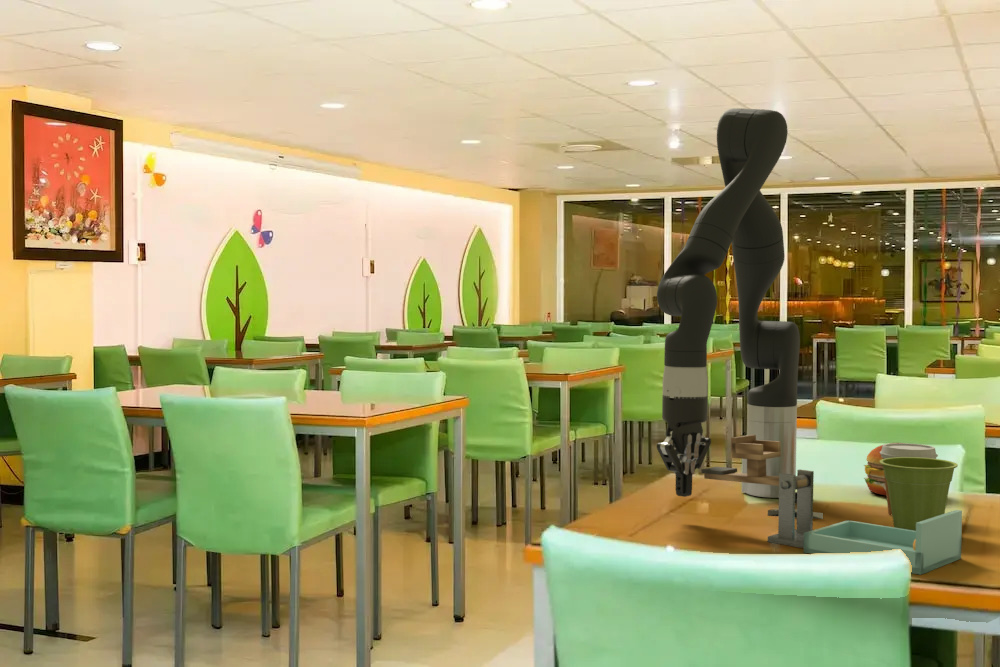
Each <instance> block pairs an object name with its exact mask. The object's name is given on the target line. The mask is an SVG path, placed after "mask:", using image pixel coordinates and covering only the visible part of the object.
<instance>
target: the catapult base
mask: <svg viewBox="0 0 1000 667" xmlns="http://www.w3.org/2000/svg"><path fill="white" fill-rule="evenodd" d="M814 473H815V472H814V470H807V469H796V475H791V474H784V473H780V474H779V498H778V510H779V516H778V521H777V522H778V526H777V527H778V529H777V531H778V532H777V533H775V534H772V535H769V536H768V535H767V542H768V543H771V544H772V543H773V544H778V545H783V546H787V547H788V546H789V547H793V548H794V547H795V548H801V549H804V533H805V532H809V531H812V530H814V529H813V523H814V522H813V520H814V519H813V512H814V478H815V476H814ZM799 475H805V476H806V477H807V478H808V480H809V484H808V486H807V487H805V488H801V489H796V490H795V484H796V476H799ZM795 492H797V503H795ZM795 509H797V518H796V517H795ZM795 523H796V524H795ZM795 526H796V527H795Z"/></svg>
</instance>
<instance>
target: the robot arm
mask: <svg viewBox="0 0 1000 667" xmlns="http://www.w3.org/2000/svg"><path fill="white" fill-rule="evenodd" d="M788 130H789V129H788V123H787V120H786V118H785V116H784V115H783V114H782V113H781V112H779V111H777V110H771V109H758V108H742V107H740V108H738V107H737V108H736V107H735V108H728V109H726V110H725V111H724V112H723V113H722V114H721V116H720V117H719V119H718V123H717V128H716V146H717V153H718V158H719V162H720V163H719V164H720V167H721V172H722V178H723V183H724V187H723V188H722V190H721V191H719V192H718V193H717V194H716V195H715V196H714V197H713V198H712V199H710V201H708V203H706V205H705V206H703V208H702V210H701V211H700V212H699V213H698V215H697V217H696V219H695V221H694V224H693V225H692V228H691V231H690V233H689V235H688V237H687V240H686V243H685V245H684V247H683V249H682V250H681V251H680V252H679V253H678V255H677V256H676V257H675V259H673V261H672V263H671V264H670V265H669V267H668V268H667V269H666V270H665V272H664V274H663V275H662V277H661V279H660V281H659V283H658V287H657V290H656V301H657V305H658V307H659V309H660V310H661V311H662V312H663V313H664V314H665V315H668V316H672V317H681V318H680V322H679V325H678V328H677V329H676V330H673V331H671V332H669V333H668V334H667V335H666V336H665V339H664V340H665V341H664V362H663V364H664V365H663V366H664V367H663V368H664V369H663V374H662V395H661V396H662V399H661V401H662V405H661V406H662V409H661V410H662V411H661V418H662V421H664V422H666V423H667V426H666V430H665V439H664V441H663V442H658V443H657V444H656V449H657V452H658V453H659V456H660V458H661V460H662V462H663V463H664V466H665V467H666V470H667V471H670V472H673V474H675V494H676V496H678V497H683V498H684V497H691V496H692V493H693V492H692V491H693V474H695V471H696V470H699V469H701V467H702V465H703V462H704V460H705V458H706V455H707V454H708V451H709V449H710V447H711V444H712V439H711V438H710V437H705V435H704V434H703V433H704V429H703V425H702V423H703V424H704V423H705V422H707V421H708V410H709V409H708V405H709V404H708V403H709V402H708V400H709V398H708V397H709V395H708V393H709V386H708V385H709V379H708V378H709V377H708V369H707V368H708V367H707V366H708V365H707V363H708V362H707V356H708V355H707V354H708V347H707V346H708V345H707V344H708V340H709V336H710V334H711V330H712V326H713V322H714V319H715V314H716V310H717V305H718V294H717V290H716V287H715V284H714V282H713V281H712V280H711V279H710V278H709V277H708V276H706V274H708V273H710V272H712V271H715V270H718V269H719V268H721V266H722V264H723V263H724V260H726V257H727V254H728V252H729V250H730V247H731V248H732V251H731V252H732V258H733V265H734V272H735V282H736V290H737V298H738V299H737V300H738V302H737V303H738V325H739V326H738V328H739V329H738V330H739V331H738V332H739V350H740V356H741V361H742V363H743V365H744V366H745V367H747V368H750V369H757V370H761V369H762V370H779V373H778V375H777V377H776V378H774V379H773V380H772V381H770V382H768V383H766V384H763V385H758V386H755V387H752V388H751V389H749V390H748V392H747V399H746V400H747V405H746V406H747V410H746V411H747V413H746V414H747V416H746V417H747V418H746V419H747V420H746V424H747V425H746V435H756V440H766V441H780V444H781V456H780V457H775V458H769V459H766V475H767V476H778V477H779V474H780V473H784V474H791V475H796V476H797V433H798V432H797V431H798V430H797V429H798V428H797V425H798V421H797V419H798V418H797V416H798V414H797V413H798V412H797V411H798V376H799V360H800V348H801V346H800V345H801V338H800V336H801V335H800V330H799V326H798V325H797V324H796V323H795V322H793V321H784V320H781V321H780V320H779V321H778V320H777V321H776V320H773V321H772V320H759V316H758V314H759V307H760V306H761V303H762V301H763V299H764V298H765V295H766V294H767V292H768V290H769V289H770V288H771V286H772V284H773V283H774V281H775V280H776V279H777V277H778V275H779V273H780V272H781V270H782V268H783V265H784V263H785V245H784V233H783V226H782V223H781V221H780V219H779V217H778V215H777V214H776V212H775V210H774V209H773V207H772V206H771V205H770V203H769V202H768V200H767V199H766V197H765V196H764V194H763V193H762V192H761V189H762V188H763V186H764V185H765V183H766V182H767V179H768V177H769V176H770V174H771V173H772V171H773V170H774V168H775V166H776V165H777V163H778V161H779V160H780V158H781V156H782V154H783V152H784V149H785V147H786V144H787V140H788ZM741 460H742V461H741V473H745V474H747V459H741ZM741 493H744V494H747V495H749V496H754V497H762V498H770V499H771V498H773V499H775V498H778V499H779V486H776V485H766V484H755V483H745V482H741Z"/></svg>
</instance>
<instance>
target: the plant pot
mask: <svg viewBox="0 0 1000 667" xmlns="http://www.w3.org/2000/svg"><path fill="white" fill-rule="evenodd" d="M880 464H882V465H883V469H884V474H885V478H886V479H887V485H888V492H889V498H890V504H891V511H892V515H891V516H892V522H893V527H895V528H901V529H907V530H914V531H916V523H917V522H920V521H923V520H927V519H930V518H933V517H936V516H939V515H942V514H945V513H946V507H947V503H948V502H947V501H948V496H949V490H950V485H951V482H952V481H953V476H954V472H955V471H954V470H955V469H956V468H958V466H959V464H958V463H957V462H955V461H951V460H948V459H947V460H946V459H940V458H936V459H932V458H920V457H894V458H885V459H882V460H880Z"/></svg>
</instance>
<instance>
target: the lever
mask: <svg viewBox="0 0 1000 667" xmlns="http://www.w3.org/2000/svg"><path fill="white" fill-rule="evenodd" d="M730 447H731V448H730V449H731V458H732V459H741V460H742V459H747V474H745V473H742V472H738V467H735V468H734V467H725V466H713V467H707V468H700V469H701V471H700V472H701V474H704V478H703V479H705V480H706V479H707V480H716V481H725V482H726V481H727V482H734V483H735V482H736V483H737V482H738V483H742V482H745V483H755V484H766V485H776V486H779V477H778V476H767V475H766V459H769V458H775V457H780V456H781V444H780V441H766V440H756V435H747V434H746V435H741V436H734V437H731V438H730ZM808 484H809V480H808V478H807V477H806V476H805V475H799V476H797V475H796V484H795V491H797V489H801V488H805V487H807V486H808Z"/></svg>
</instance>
